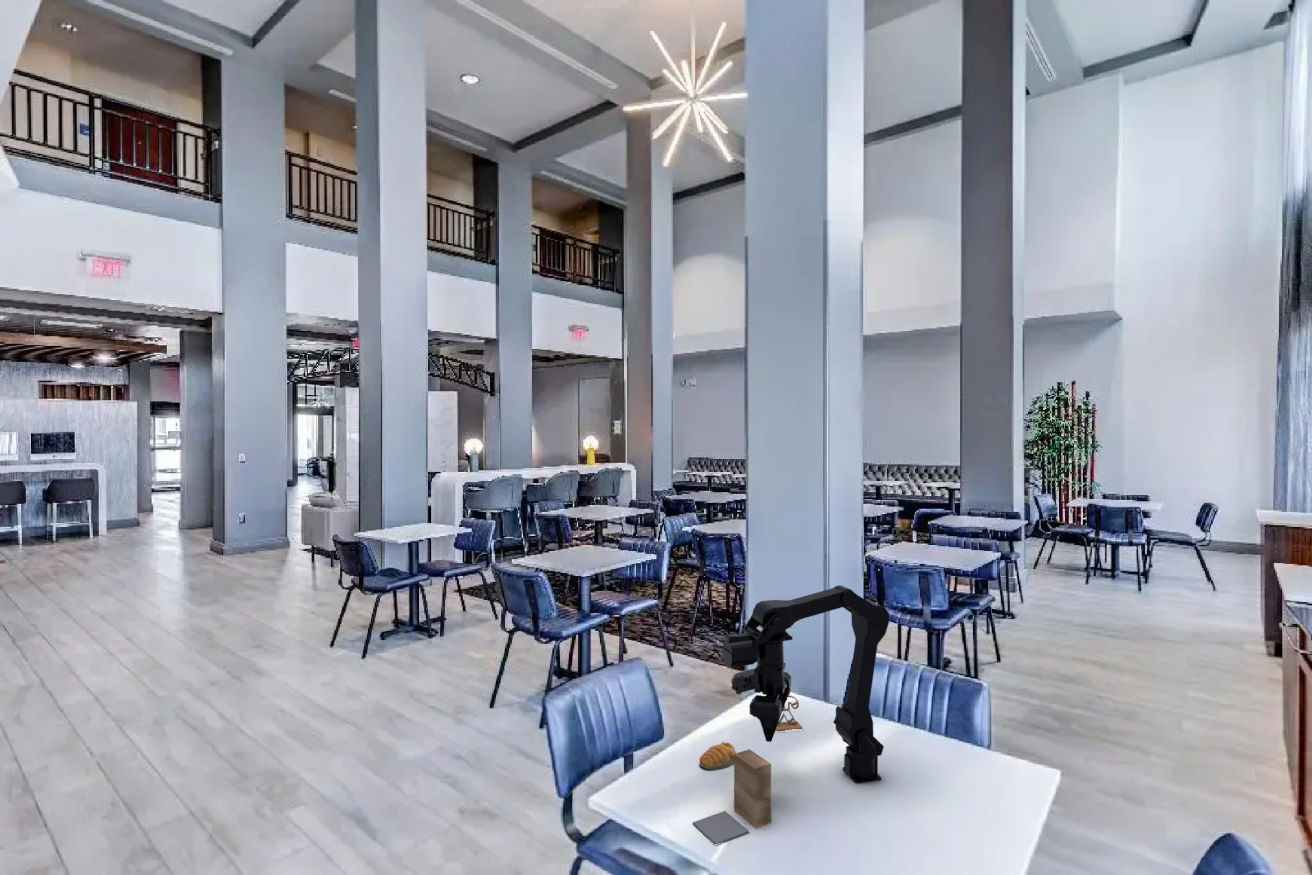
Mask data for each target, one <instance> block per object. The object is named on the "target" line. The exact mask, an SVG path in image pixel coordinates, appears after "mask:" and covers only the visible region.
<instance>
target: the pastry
mask: <svg viewBox="0 0 1312 875" xmlns="http://www.w3.org/2000/svg"><path fill="white" fill-rule="evenodd" d="M735 753H737V750H735V746H734V745H732V743H730V742H725V741H723V742H721V743H719V744H716V745H712V746H710V747H709V748H708V749H707V750H706V751H705V752H703V753H702V754H701V756H700V757H699V766H700V767H702V768H703V769H707V770H709V771H711V770H716V769H724V768H727V767H729V766H732V765H734V754H735Z"/></svg>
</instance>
